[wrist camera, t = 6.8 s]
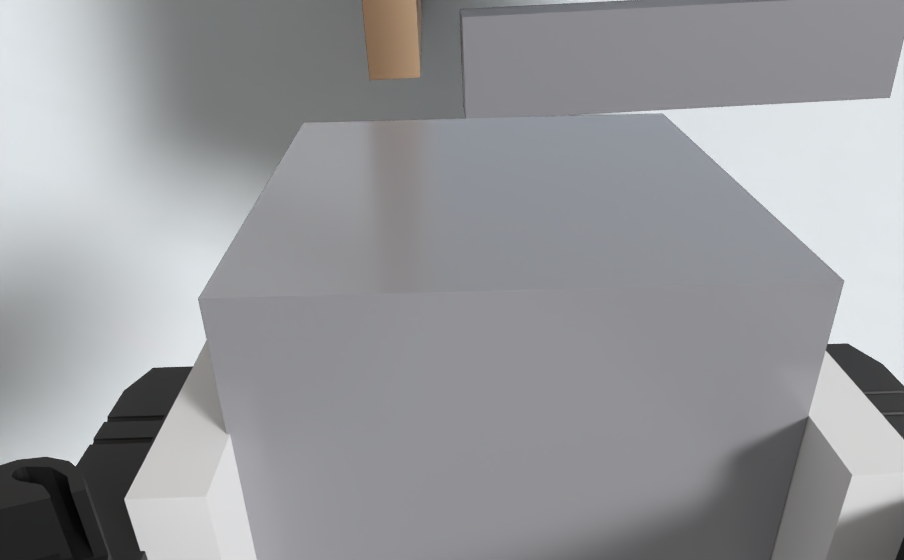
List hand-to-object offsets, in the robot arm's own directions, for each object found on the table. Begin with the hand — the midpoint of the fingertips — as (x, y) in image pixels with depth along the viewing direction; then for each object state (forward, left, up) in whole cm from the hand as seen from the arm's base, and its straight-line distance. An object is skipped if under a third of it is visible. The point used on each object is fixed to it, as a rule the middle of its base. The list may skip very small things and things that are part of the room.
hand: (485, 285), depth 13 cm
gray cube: (0, 0, 0) cm, 0 cm away
